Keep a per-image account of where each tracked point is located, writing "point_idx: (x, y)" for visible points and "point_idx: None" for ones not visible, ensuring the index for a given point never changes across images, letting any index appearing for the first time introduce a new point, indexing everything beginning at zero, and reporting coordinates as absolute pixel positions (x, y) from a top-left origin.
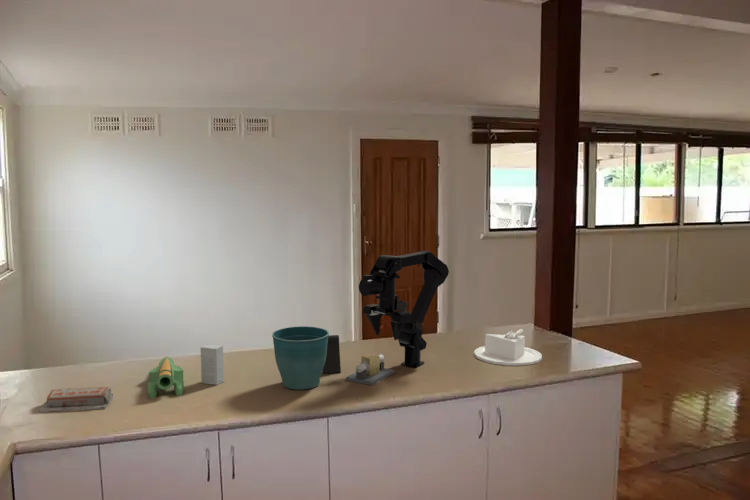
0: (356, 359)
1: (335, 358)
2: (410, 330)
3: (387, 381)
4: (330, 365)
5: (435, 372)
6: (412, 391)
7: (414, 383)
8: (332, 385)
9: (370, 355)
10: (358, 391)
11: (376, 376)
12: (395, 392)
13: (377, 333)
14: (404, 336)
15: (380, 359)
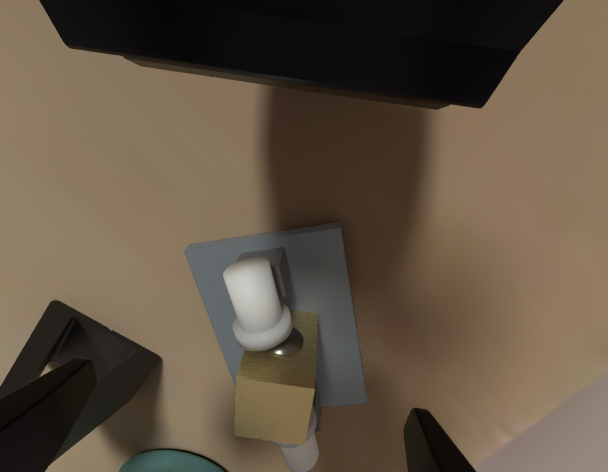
0: (10, 165)
1: (97, 411)
2: (497, 25)
3: (391, 332)
4: (116, 403)
5: (568, 35)
6: (553, 363)
7: (519, 286)
8: (257, 450)
9: (262, 407)
10: (367, 449)
11: (335, 349)
12: (491, 401)
13: (84, 395)
14: (319, 89)
15: (288, 324)
